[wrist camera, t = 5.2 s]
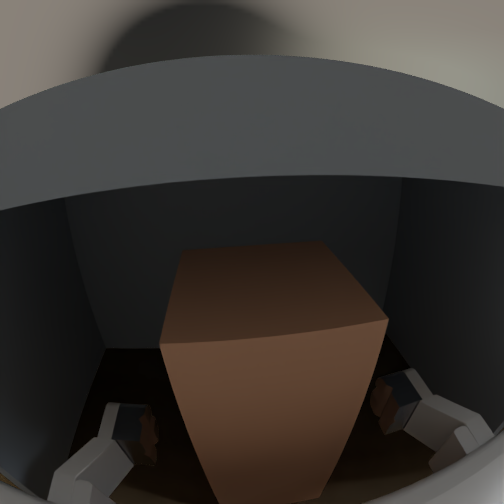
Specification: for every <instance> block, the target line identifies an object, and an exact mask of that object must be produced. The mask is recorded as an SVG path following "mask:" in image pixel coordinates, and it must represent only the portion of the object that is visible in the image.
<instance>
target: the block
mask: <svg viewBox="0 0 504 504" xmlns="http://www.w3.org/2000/svg"><path fill="white" fill-rule="evenodd" d="M388 321H389V318H388V317H387V316H386V315H385V313H384V312H383V311H382V310H381V308H380V307H379V306H378V305H377V304H376V302H375V301H374V300H373V299H372V298H371V296H370V295H369V294H368V293H367V292H366V291H365V289H364V288H363V287H362V286H361V285H360V283H359V282H358V281H357V280H356V279H355V278H354V277H353V275H352V274H351V273H350V272H349V271H348V270H347V268H346V267H345V266H344V265H343V264H342V263H341V262H340V260H339V259H338V258H337V257H336V256H335V255H334V254H333V253H332V251H331V250H330V249H329V248H328V247H327V246H326V245H325V244H324V243H323V241H307V242H292V243H278V244H263V245H249V246H234V247H220V248H206V249H193V250H182V254H181V257H180V261H179V265H178V268H177V272H176V276H175V280H174V284H173V287H172V291H171V295H170V299H169V303H168V307H167V312H166V316H165V320H164V324H163V328H162V333H161V337H160V342H159V345H160V349H161V353H162V356H163V359H164V363H165V366H166V369H167V373H168V376H169V379H170V382H171V385H172V388H173V391H174V394H175V397H176V400H177V403H178V406H179V409H180V412H181V415H182V417H183V420H184V423H185V426H186V428H187V431H188V433H189V436H190V439H191V441H192V444H193V446H194V449H195V451H196V454H197V456H198V458H199V461H200V463H201V465H202V468H203V470H204V472H205V475H206V477H207V479H208V481H209V483H210V486H211V488H212V490H213V492H214V494H215V496H216V498H217V500H218V502H219V504H290V503H295V502H301V501H306V500H311V499H316V498H319V497H320V495H321V493H322V491H323V489H324V487H325V486H326V484H327V482H328V480H329V478H330V476H331V474H332V472H333V470H334V468H335V466H336V464H337V462H338V460H339V458H340V455H341V453H342V451H343V449H344V447H345V445H346V442H347V440H348V438H349V435H350V433H351V431H352V428H353V426H354V424H355V421H356V419H357V416H358V414H359V411H360V408H361V406H362V403H363V401H364V398H365V395H366V392H367V390H368V387H369V384H370V381H371V378H372V375H373V372H374V369H375V366H376V363H377V359H378V356H379V353H380V350H381V346H382V343H383V339H384V336H385V332H386V328H387V324H388Z"/></svg>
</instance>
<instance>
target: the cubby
mask: <svg viewBox="0 0 504 504" xmlns="http://www.w3.org/2000/svg"><path fill="white" fill-rule="evenodd" d="M307 241H323V243H324V244H325V245H326V246H327V247H328V248H329V249H330V250H331V251H332V253H333V254H334V255H335V256H336V257H337V258H338V259H339V260H340V262H341V263H342V264H343V265H344V266H345V267H346V268H347V270H348V271H349V272H350V273H351V274H352V275H353V277H354V278H355V279H356V280H357V281H358V282H359V283H360V285H361V286H362V287H363V288H364V289H365V291H366V292H367V293H368V294H369V295H370V296H371V298H372V299H373V300H374V301H375V302H376V304H377V305H378V306H379V307H380V308H381V310H382V311H383V312H384V313H385V315H386V316H387V317H388V318H389V321H388V324H387V328H386V332H385V333H386V334H387V336H388V337H389V338H390V340H391V341H392V343H393V344H394V345H395V347H396V348H397V349H398V351H399V352H400V354H401V355H402V356H403V358H404V359H405V361H406V362H407V363H408V365H409V366H410V368H414V369H415V370H416V371H417V373H418V374H419V376H420V377H421V378H422V380H423V381H424V383H425V384H426V385H427V387H428V388H429V390H430V391H431V393H432V394H433V395H436V394H437V395H439V396H441V397H443V398H445V399H447V400H449V401H452V402H454V403H456V404H458V405H460V406H462V407H465V408H467V409H469V410H471V411H473V412H476V413H478V414H480V415H481V416H482V418H483V419H484V421H485V422H486V424H487V425H488V426H489V428H490V429H491V431H492V432H493V434H494V435H495V436H496V435H497V434H498V433H499V432H500V431H501V429H502V428H503V427H504V109H503V108H501V107H499V106H497V105H494V104H492V103H490V102H487V101H485V100H483V99H480V98H478V97H475V96H473V95H470V94H468V93H465V92H462V91H460V90H457V89H454V88H451V87H448V86H445V85H442V84H439V83H436V82H433V81H429V80H426V79H423V78H419V77H416V76H412V75H408V74H404V73H400V72H396V71H392V70H387V69H382V68H377V67H373V66H368V65H362V64H356V63H350V62H343V61H336V60H328V59H319V58H309V57H297V56H279V55H228V56H227V55H226V56H208V57H195V58H185V59H176V60H168V61H162V62H154V63H149V64H143V65H137V66H131V67H127V68H122V69H118V70H113V71H108V72H104V73H100V74H97V75H93V76H89V77H85V78H82V79H78V80H75V81H71V82H69V83H65V84H62V85H59V86H56V87H53V88H50V89H47V90H45V91H42V92H39V93H37V94H34V95H32V96H29V97H27V98H24V99H22V100H19V101H17V102H15V103H12V104H10V105H8V106H6V107H4V108H1V109H0V473H1V474H2V475H4V476H5V477H6V478H7V479H8V480H10V481H11V482H12V483H13V484H15V485H16V486H17V487H19V488H20V489H21V490H23V491H24V492H26V493H29V494H31V495H34V496H36V497H39V498H42V499H44V500H47V499H48V495H49V491H50V487H51V483H52V479H53V475H54V472H55V471H56V470H57V469H58V468H59V467H60V466H62V465H63V464H64V463H65V462H66V461H67V459H68V456H69V452H70V449H71V445H72V442H73V438H74V435H75V432H76V429H77V426H78V423H79V420H80V417H81V414H82V411H83V408H84V405H85V402H86V399H87V396H88V394H89V391H90V388H91V385H92V383H93V380H94V377H95V375H96V372H97V370H98V367H99V364H100V362H101V359H102V357H103V354H104V352H105V350H106V348H160V345H159V342H160V337H161V333H162V328H163V324H164V320H165V316H166V312H167V307H168V303H169V299H170V295H171V291H172V287H173V284H174V280H175V276H176V272H177V268H178V265H179V261H180V257H181V254H182V250H193V249H206V248H220V247H234V246H249V245H263V244H278V243H292V242H307Z"/></svg>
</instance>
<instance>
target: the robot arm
mask: <svg viewBox="0 0 504 504" xmlns="http://www.w3.org/2000/svg"><path fill="white" fill-rule="evenodd" d="M375 385H376V388H375V389H374V390H373V391H372V393H371V396H370V404H371V408H372V410H373V413H374V414H375V415H377V416H379V417H380V418H379V422H378V423H379V425H380V427H381V429H382V431H383V433H384V435H386V434H389V433H392V432H395V431H398V430H401V429H403V430H404V431H406V432H407V433H408V434H410V435H411V436H413V437H414V438H416V439H417V440H419V441H420V442H422V443H423V444H425V445H426V446H428V447H429V448H431V449H432V450H434V451H435V452H436V453H435V454H434V455H433V457H432V458H431V459H430V460H429V462H428V464H429V466H430V468H431V470H432V472H433V474H432V475H430V476H428V477H426V478H424V479H421V480H419V481H417V482H415V483H413V484H411V485H408V486H406V487H404V488H401V489H399V490H397V491H394V492H392V493H389V494H387V495H384V496H381V497H379V498H376V499H373V500H370V501H367V502H364V503H361V504H504V430H502V431H501V432H500V433H498V434H497V435H496V436H495V435H494V434H493V432H492V431H491V429H490V428H489V426H488V425H487V424H486V422H485V421H484V419H483V418H482V416H481V415H480V414H478V413H476V412H473V411H471V410H469V409H467V408H465V407H462V406H460V405H458V404H456V403H454V402H452V401H449V400H447V399H445V398H443V397H441V396H439V395H437V394H436V395H433V394H432V393H431V391H430V390H429V388H428V387H427V385H426V384H425V383H424V381H423V380H422V378H421V377H420V376H419V374H418V373H417V371H416V370H415V369H414V368H409V369H406V370H403V371H399V372H395V373H392V374H389V375H385V376H382V377H379V378H378V379H377V380H376V382H375ZM151 413H152V410H151V408H150V406H149V405H141V404H126V403H114V402H109V403H108V404H107V405H106V408H105V411H104V415H103V418H102V422H101V425H100V429H99V433H98V437H97V438H96V437H94V438H92V439H91V440H90V441H89V442H88V443H87V444H86V445H84V446H83V447H82V448H81V449H80V450H79V451H78V452H77V453H75V454H74V455H73V456H72V457H71V458H70V459H68V460H67V461H66V462H65V463H64V464H63V465H62V466H60V467H59V468H58V469H57V470H56V471H55V472H54V475H53V479H52V483H51V487H50V491H49V495H48V499H47V500H44V499H42V498H39V497H36V496H34V495H31V494H29V493H26V492H24V491H22V490H19V489H17V488H15V487H13V486H11V485H9V484H6V483H4V482H2V481H0V504H117V503H115V502H114V501H113V500H112V499H110V498H109V496H110V495H111V493H112V492H113V491H114V490H115V488H116V487H117V486H118V485H119V484H120V482H121V481H122V480H123V479H124V477H125V476H126V475H127V474H128V472H129V471H130V470H131V469H132V467H133V466H134V464H138V465H156V459H157V449H156V448H155V446H154V445H155V444H156V443H157V441H158V439H159V428H158V423H157V420H156V418H155V417H154V416H152V415H151Z"/></svg>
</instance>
